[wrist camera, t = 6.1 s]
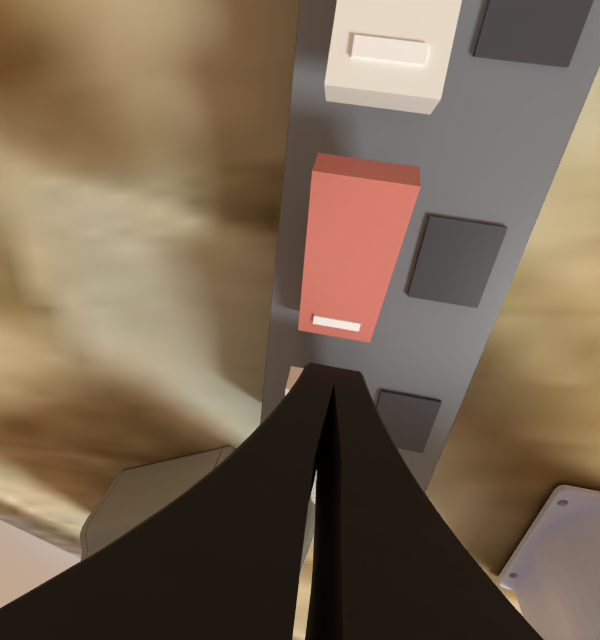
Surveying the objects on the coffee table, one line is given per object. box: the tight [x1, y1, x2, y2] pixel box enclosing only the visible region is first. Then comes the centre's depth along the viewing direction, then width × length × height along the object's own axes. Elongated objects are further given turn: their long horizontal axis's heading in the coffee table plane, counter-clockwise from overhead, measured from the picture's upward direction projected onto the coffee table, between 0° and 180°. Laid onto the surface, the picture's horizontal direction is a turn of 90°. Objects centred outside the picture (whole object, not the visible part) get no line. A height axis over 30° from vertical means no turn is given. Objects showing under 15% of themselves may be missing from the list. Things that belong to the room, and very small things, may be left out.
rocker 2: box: [298, 153, 421, 343], centre depth 11 cm, size 6×3×1 cm, turn 174°
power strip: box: [260, 0, 600, 493], centre depth 13 cm, size 26×8×4 cm, turn 173°
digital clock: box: [80, 446, 315, 578], centre depth 21 cm, size 16×9×11 cm, turn 102°
